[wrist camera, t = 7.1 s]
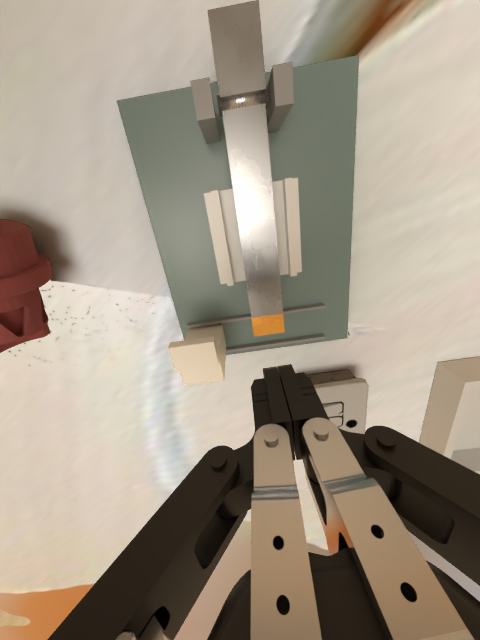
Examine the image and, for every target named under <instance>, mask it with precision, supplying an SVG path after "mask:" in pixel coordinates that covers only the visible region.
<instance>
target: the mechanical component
mask: <svg viewBox="0 0 480 640" xmlns="http://www.w3.org/2000/svg"><path fill="white" fill-rule="evenodd" d="M52 276H53V271H52V267H51V263H50V260H49V259H48V258H47V257H45V256H43V255H41V254H38V253H37V252H36V249H35V245H34V242H33V238H32V235H31V231H30V228H29V227H28V226H27V225H24V224H22V223H19V222H15V221H11V220H4V219H0V353H1V352H3V351H5V350H7V349H9V348H11V347H13V346H16V345H18V344H21V343H24V342H27V341H30V340H33V339H37V338H42V337H45V336H47V335H48V334H49V333H50V330H49V327H48V324H47V323H48V316H47V314H46V312H45V309H44V304H43V300H42V297H41V294H40V291H39V287H41V286H43V285H44V284H45V283H47V282H48V281H49V280H50V279H51V277H52Z"/></svg>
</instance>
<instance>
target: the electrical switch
mask: <svg viewBox="0 0 480 640" xmlns="http://www.w3.org/2000/svg"><path fill="white" fill-rule="evenodd" d="M307 376H308V377H309V378H310V379H311V381H312V383H313V385H314V388H315V390H316V392H317V394H318V396H319V398H320V400H321V403H322V405H323V407H324V409H325V411H326V414H327V416H328V418H329V420H330V421H331V422H333V423H334V424H335V425H336V426H337V427H338V428H340V429H342V430H345V431H348V432H354V433H360V434H363V433H364V432H365V424H366V412H367V399H368V384H367V382H366V380H365V379H363V378H356V377H355V376H353V374H352V373H351V372H350V370H344V371H337V372H329V373H321V374H314V375H307ZM331 379H332V380H331ZM318 380H319V381H318Z"/></svg>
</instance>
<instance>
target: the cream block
mask: <svg viewBox="0 0 480 640" xmlns="http://www.w3.org/2000/svg"><path fill="white" fill-rule="evenodd" d="M168 350H169V353H170V357H171V360H172V363H173V366H174V369H175V372H177V371H180V374H181V377H182V381H183V384H184V386H189V385H196V384H204V383H211V382H218V381H224V376H225V359H226V340H225V335H224V330H223V325H222V323H219V324H212V325H206V326H199V327H192V328H189V330H188V332H187V335H186V337H185V340H184V341H177V342H171V343H170V345H169V347H168Z"/></svg>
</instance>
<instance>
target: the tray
mask: <svg viewBox="0 0 480 640" xmlns="http://www.w3.org/2000/svg"><path fill="white" fill-rule="evenodd" d="M419 443H420V444H422V445H424V446H426V447H428V448H430V449H432V450H434V451H436V452H438V453H440V454H442V455H443V456H445V457H447V458H449V459H451V460H453V461H455V462H457V463H459V464H461V465H463V466H465V467H467V468H469V469H470V470H472V471H474V472H476V473H478V474H480V357H474V358H466V359H459V360H451V361H444V362H438V363H437V368H436V372H435V376H434V380H433V385H432V389H431V393H430V398H429V402H428V406H427V411H426V415H425V419H424V424H423V428H422V432H421V437H420V441H419Z"/></svg>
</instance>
